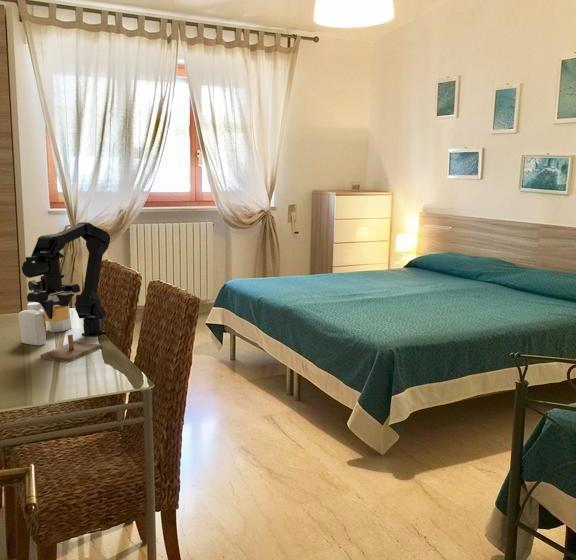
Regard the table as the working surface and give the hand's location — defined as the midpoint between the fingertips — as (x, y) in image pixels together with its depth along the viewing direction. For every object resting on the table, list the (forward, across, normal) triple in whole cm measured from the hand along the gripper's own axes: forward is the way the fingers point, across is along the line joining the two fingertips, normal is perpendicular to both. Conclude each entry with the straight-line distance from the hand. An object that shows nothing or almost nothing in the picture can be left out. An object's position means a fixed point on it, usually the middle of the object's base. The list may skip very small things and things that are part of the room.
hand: (56, 316), depth 210 cm
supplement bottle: (+11, -7, -19) cm, 23 cm away
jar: (+11, -18, -19) cm, 29 cm away
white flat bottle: (+11, -1, -14) cm, 18 cm away
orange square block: (+1, 0, 0) cm, 1 cm away
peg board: (+11, +3, +8) cm, 14 cm away
